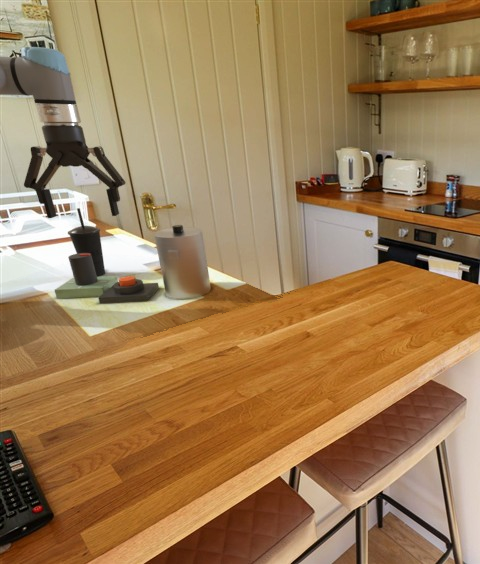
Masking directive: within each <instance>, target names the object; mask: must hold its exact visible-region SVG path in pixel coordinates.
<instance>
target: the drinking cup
mask: <svg viewBox="0 0 480 564" xmlns="http://www.w3.org/2000/svg"><path fill="white" fill-rule="evenodd" d="M76 211H77V214H78V215H77V216H78V220H79V222H80V226H77V227H76V226H75V227H74V228H72V229H70V230H68V231H67V235H69V237H70V240H71V242H72V245H73V247H74V250H75V252H76V253H75V254H78V253H90V254H91V256H92V260H93V264H94V268H95V272H96V276H97V277H103V276H105V275H106V270H105V261H104V255H103V247H102V240H101V233H100V231H101V228H99V227H96V226H92V225H85V224H84V219H83V215H82V211H81V208H80V207H78V208H76Z"/></svg>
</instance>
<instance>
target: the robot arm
mask: <svg viewBox="0 0 480 564" xmlns="http://www.w3.org/2000/svg"><path fill="white" fill-rule="evenodd" d="M20 52H21V55H20V56H14V57H13V56H0V96H32V97H33V99H34V100H33V101H34V104H35V107H36V112H37V116H38V119H39V122H40V123H43V125H42V126H41V131H42V134H43V137H44V138H43V139H44V141H45V144H46V146H45V147H42V146H40V145H35V146H31V147H30V154H31V157H30V161H29V163H28V164H29V165H28V168H27V171H26V175H25V178H24V181H23V187H24V188H26V189H32V190H34V191H35V193H36V196H37V201H38V203H39V204H40V205H43V207H44V210H45V213H46V216H47V219H54V218H55V217H57V215H58V214H57V212H56V208H55V204H54V200H53V197H52V192H51V190H50V188H47V185H48V184H49V183H50V181H51V180H52V178H53V177H54V175H55V174H56V173H57V171H58V170H59V168H60V167H62V168H64V167H65V168H66V167H67V168H68V167H74V168H75V167H77V168H78V167H83V168H84V169H86V170H87V171H89V172H90V173H91V174H92V175H94V176H95V178H97V179H98V180H100V181H101V183H103V184H104V185H106V187H108V188H107V189H105V191H106V194H107V199H108V204H109V208H110V213H111V217H116V216H118V215H119V214H120V212H119V211H120V210H119V206H118V203H119V202H120V201H121V196H120V191H119V187H122V186H125V185H126V183H127V182H126V180H125V179H124V178H123V177H122V175H121V173H119V171H118V170H117V168H115V166H114V165H113V163H112V162H111V161H110V159H108V157H107V155H106V153H105V150H104V148H103V146H102V145H101V146H100V145H98V146H94V147H88V146H87V143H86V138H85V137H86V136H85V133H84V129H83V127H82V126H81V125H80V123H81V122H82V120H81V117H80V113H79V109H78V104H77V100H76V96H75V91H74V87H73V81H72V77H71V72H70V71H69V66H68V63H67V60H66V57H65V55H64V53H62V51H60V50H57V49H54V48H48V47H41V46H24V47H23V46H22V48H21V49H20ZM90 154H91V155H92V157H94V158H95V157H96V159H97V161H98V162H99V164H100V165H101V166H102V168H104V170H105V172H107V173H108V175H107V173H105V172H104V171H103V170H102V169H101V168H99V167H98V166H97V165H96V164H95V163H94V162H93V160H91V159H90V158H89V155H90ZM46 155H48V156H49V157H50V158H51V160H50V161H49V163H48V165H47V167H46V168H45V169H44V171H43V173H42V174H41V175H40V177H39V173H40V170H41V166H42V163H43V160H44V157H45V156H46ZM38 177H39V179H38Z"/></svg>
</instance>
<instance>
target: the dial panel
mask: <svg viewBox="0 0 480 564" xmlns="http://www.w3.org/2000/svg"><path fill="white" fill-rule="evenodd" d="M97 280H98V281H97V282H96V283H93V284H90V285H76V283H75V279H74V277H72V278H70V279H69V280H67V281H66V282H63V284H61V285H59V286H58V287H56V288H55V289H54V293H55V297H56V299H58V300H59V299H75V298H76V299H77V298H94V297H95V298H96V297H100V296H101V295H102V294H103V293H105V292H106V291H107V290H108V289H109V288H111V287H112V286H113V285H114V284H115V283H117V282H119V279H118V275H107V276H105V275H102V276H99V277H97Z"/></svg>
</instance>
